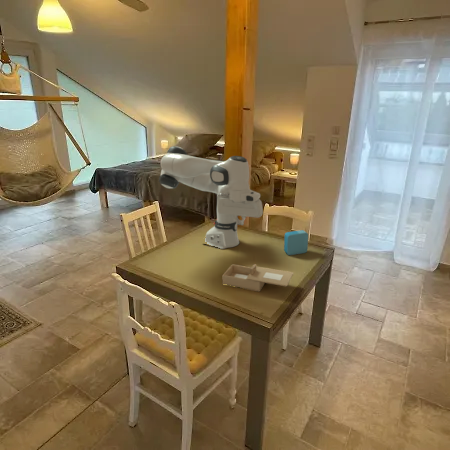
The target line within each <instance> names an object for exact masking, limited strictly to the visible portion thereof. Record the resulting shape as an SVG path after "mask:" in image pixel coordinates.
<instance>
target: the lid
mask: <svg viewBox="0 0 450 450" xmlns="http://www.w3.org/2000/svg"><path fill="white" fill-rule="evenodd" d="M250 267H251V269H250V274H249V275H248V277H247V278H246V279H247V280H252V281H258V282H264V283H265V284H269V285H277V286H281V287H288V284H290V281H291V279H292V277H293V276H294V272H293V271H288V270H280V269H274V268H269V267H262V266H257V264H253V265H252V266H250Z"/></svg>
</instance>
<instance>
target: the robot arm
mask: <svg viewBox="0 0 450 450" xmlns="http://www.w3.org/2000/svg"><path fill="white" fill-rule="evenodd" d="M166 152H167V153H165V154H164V155H163V156H162V157H161V160H160V168H161V170H160V175H159V179H158V182H159V184H160V185H161V186H162V187H164V188H166V189H176V188H177V187H178V185H180V184H183V185H186V186H188V187H190V188H194V189H196V190H199V191H202V192H208V193H213V194H215V195H216V219H215V221H214V222H213V225H214V226H212V227H211V228H210V229H209V230H207V232H206V233H205V237H206V238H205V237H204V238H205V242H207V244H209V245H211V246H215V247H218V248H217V249H219V248H220V249H219V250H224V249H227V248H234V247H237V246H238V245H239V244H240V240H239V234H238V225H239V226H244V224H245V219H246V218H260V217H262V215H263V213H264V210H263V202H262V200H261V199H260V198H261V193H260V192H257V191H255V190H252V189H251V188H250V183H249V180H250V166H249V162H248V160H247V158H245V157H243V156H239V155H232V156H230V157H229V158H228V159H227V160H219V159H218V160H217V159H207V158H202V157H196V156H192V155H188V153H187V151H186V150H185V149H184V148H182V147H180V146H175V145H173V146H170V147H169V148H168V149H167V151H166ZM239 217H241V219H239ZM211 246H210V247H211ZM215 247H214V248H215Z"/></svg>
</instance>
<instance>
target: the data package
mask: <svg viewBox="0 0 450 450" xmlns="http://www.w3.org/2000/svg"><path fill="white" fill-rule="evenodd" d="M283 238H284V239H283V240H284V244H283V245H284V246H283V247H284V248H283V251H284V253H286V254H287V255H288V256H295V255H300V254H305V253H307V252H308V246H309V245H308V244H309V233H307V231H305V230H303V229H302V230H300V229H299V230H294V231H287V232H285V233H284V237H283Z"/></svg>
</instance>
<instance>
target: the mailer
mask: <svg viewBox="0 0 450 450" xmlns="http://www.w3.org/2000/svg"><path fill="white" fill-rule="evenodd" d="M251 267H252V266H244V265H239V264H233V263H232V264H231V265H229V267H228V268H227V269H226V271H225V272H224V273H223V274H222V276H221V277H222V279H221V280H222V285H223V284H227V285H231V286H235V287H234V288H237V287H240V288H239V289H242V288H244V289H243V290H247V289H248V291H254V292H258V293H260V292H261V290H262V289H263V287H264V285H265V284H266V283H264V282H258V281H252V280H247V279H246V278H247V277H248V275H249V274H250V269H251ZM231 286H230V287H231Z"/></svg>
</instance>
